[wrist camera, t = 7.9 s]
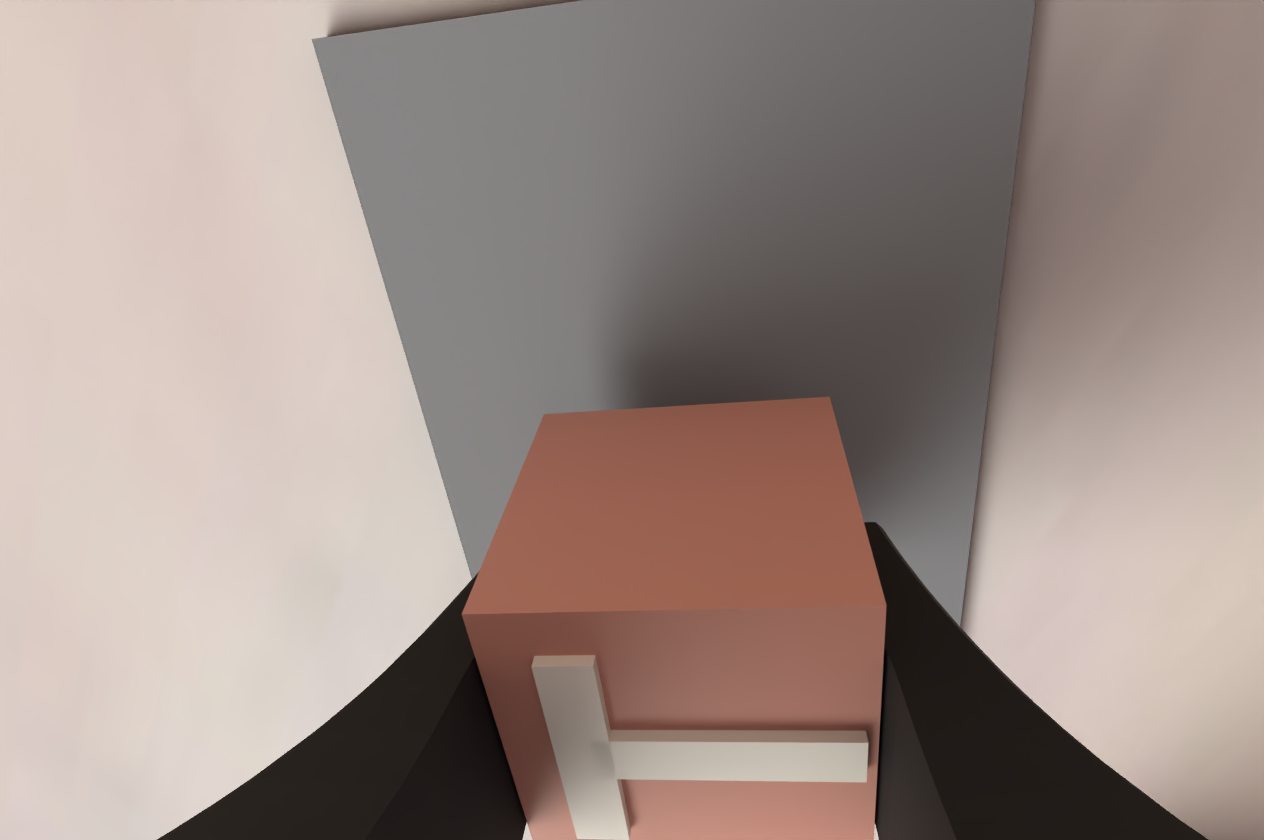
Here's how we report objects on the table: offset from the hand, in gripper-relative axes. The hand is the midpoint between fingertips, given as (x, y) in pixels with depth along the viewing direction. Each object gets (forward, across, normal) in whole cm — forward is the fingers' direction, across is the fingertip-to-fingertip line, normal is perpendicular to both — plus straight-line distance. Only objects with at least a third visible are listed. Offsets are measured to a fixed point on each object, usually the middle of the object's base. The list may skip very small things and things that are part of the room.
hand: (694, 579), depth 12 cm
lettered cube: (+1, 0, 0) cm, 1 cm away
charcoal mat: (+3, 0, 0) cm, 3 cm away
